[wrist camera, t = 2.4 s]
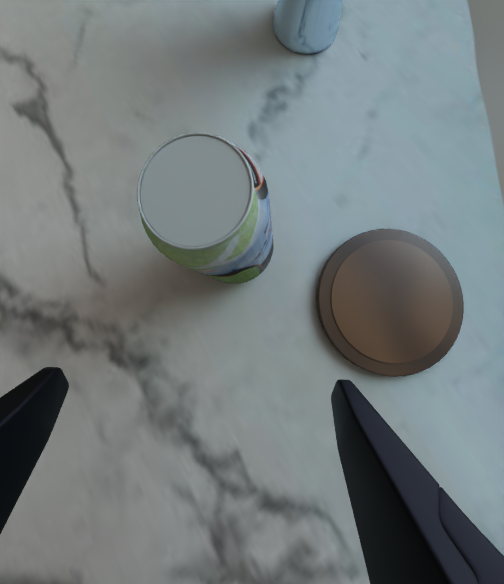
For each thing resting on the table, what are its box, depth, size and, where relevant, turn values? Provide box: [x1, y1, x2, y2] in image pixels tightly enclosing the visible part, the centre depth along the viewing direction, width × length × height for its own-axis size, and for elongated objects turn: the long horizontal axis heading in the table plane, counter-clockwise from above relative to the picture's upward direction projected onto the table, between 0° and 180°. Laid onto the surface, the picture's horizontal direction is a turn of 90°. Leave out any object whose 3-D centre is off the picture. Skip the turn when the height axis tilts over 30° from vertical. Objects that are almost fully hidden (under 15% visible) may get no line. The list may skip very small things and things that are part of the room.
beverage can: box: [137, 132, 273, 284], centre depth 17 cm, size 6×7×12 cm
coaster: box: [317, 229, 463, 376], centre depth 23 cm, size 12×12×1 cm
